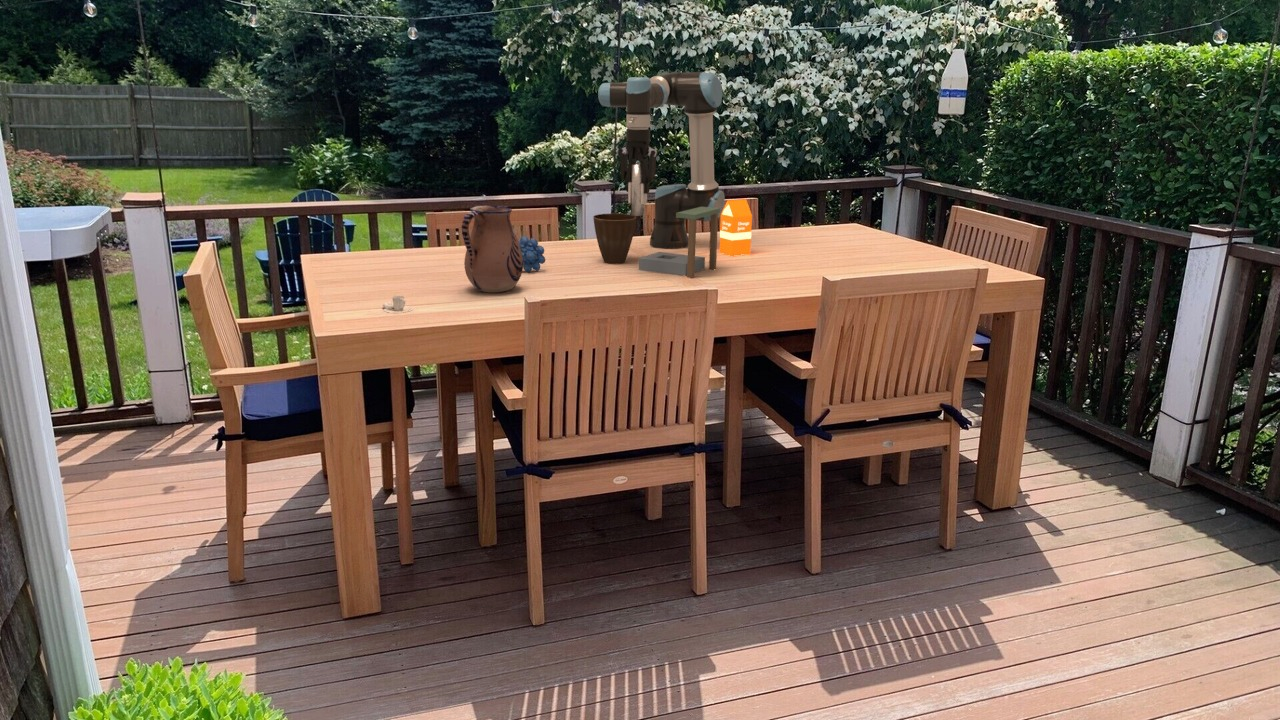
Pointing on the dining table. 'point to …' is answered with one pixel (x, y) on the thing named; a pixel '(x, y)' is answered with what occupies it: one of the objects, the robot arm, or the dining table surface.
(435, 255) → the dining table surface
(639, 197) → the steel peg
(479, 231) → the ceramic pitcher
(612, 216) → the plant pot
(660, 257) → the socket block
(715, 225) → the awning
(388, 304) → the teacup and saucer
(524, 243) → the grapes
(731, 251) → the orange juice
